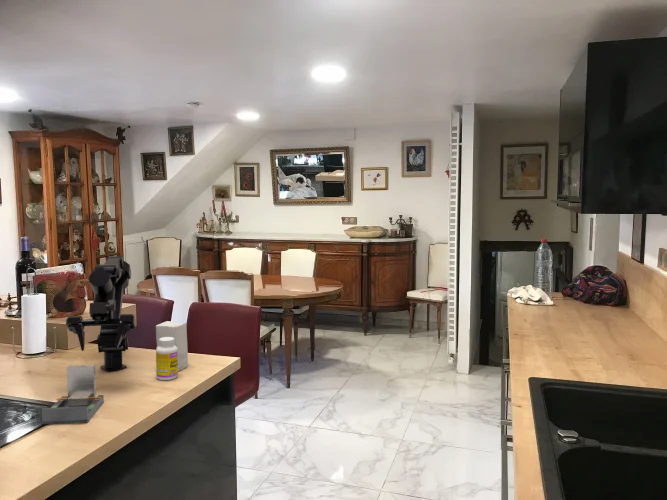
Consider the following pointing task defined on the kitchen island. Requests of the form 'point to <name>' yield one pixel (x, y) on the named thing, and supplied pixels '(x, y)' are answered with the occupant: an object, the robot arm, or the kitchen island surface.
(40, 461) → the kitchen island surface
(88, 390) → the block
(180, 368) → the skincare box
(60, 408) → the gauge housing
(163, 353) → the supplement bottle
